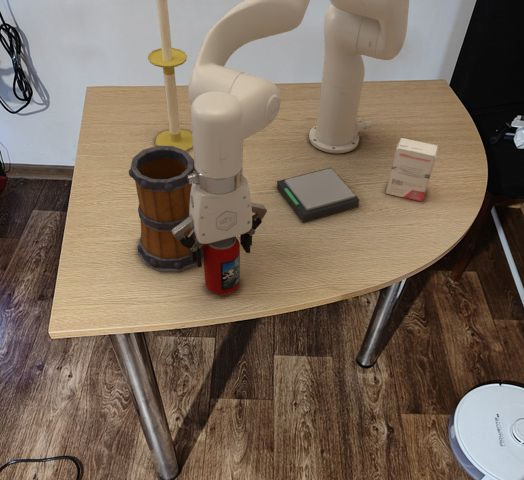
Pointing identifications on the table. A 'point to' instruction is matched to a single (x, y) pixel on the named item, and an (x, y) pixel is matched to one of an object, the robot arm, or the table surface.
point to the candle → (170, 82)
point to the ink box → (411, 169)
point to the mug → (163, 206)
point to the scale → (317, 194)
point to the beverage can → (222, 265)
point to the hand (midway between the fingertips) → (221, 255)
